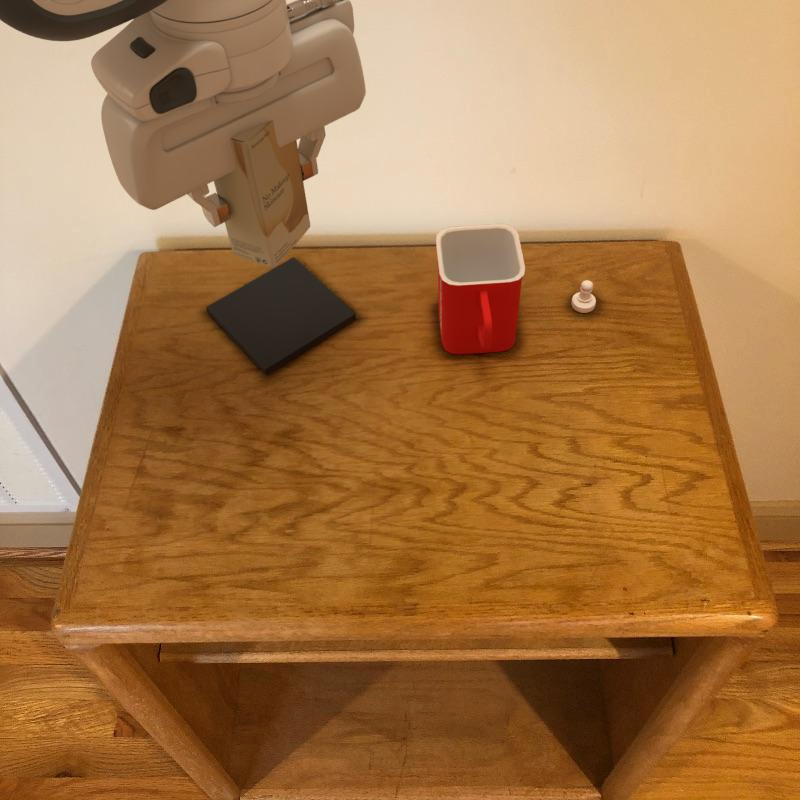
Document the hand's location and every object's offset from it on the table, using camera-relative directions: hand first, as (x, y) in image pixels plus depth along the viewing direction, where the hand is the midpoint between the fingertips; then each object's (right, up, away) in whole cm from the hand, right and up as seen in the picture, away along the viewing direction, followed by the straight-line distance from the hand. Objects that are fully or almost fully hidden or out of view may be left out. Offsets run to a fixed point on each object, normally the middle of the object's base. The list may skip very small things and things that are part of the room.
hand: (262, 197), depth 64 cm
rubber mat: (-2, -7, +23) cm, 25 cm away
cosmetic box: (0, -3, +4) cm, 5 cm away
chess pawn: (+31, -6, +22) cm, 39 cm away
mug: (+20, -10, +20) cm, 30 cm away
